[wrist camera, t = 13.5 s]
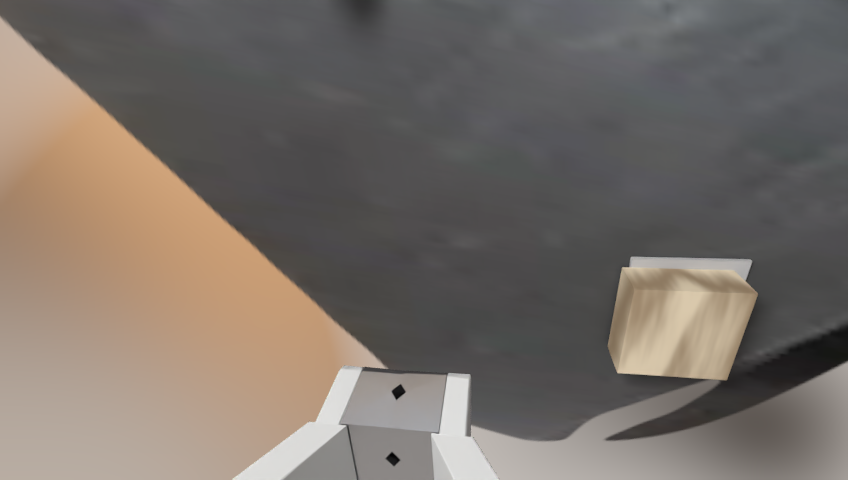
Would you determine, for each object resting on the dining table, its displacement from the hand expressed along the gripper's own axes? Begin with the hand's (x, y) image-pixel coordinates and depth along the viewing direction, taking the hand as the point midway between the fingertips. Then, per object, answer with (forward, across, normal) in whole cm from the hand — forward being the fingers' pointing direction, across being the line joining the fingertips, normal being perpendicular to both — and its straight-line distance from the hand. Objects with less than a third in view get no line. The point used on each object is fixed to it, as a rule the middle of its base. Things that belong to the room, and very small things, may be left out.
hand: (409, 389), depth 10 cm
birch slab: (+29, -15, +19) cm, 37 cm away
